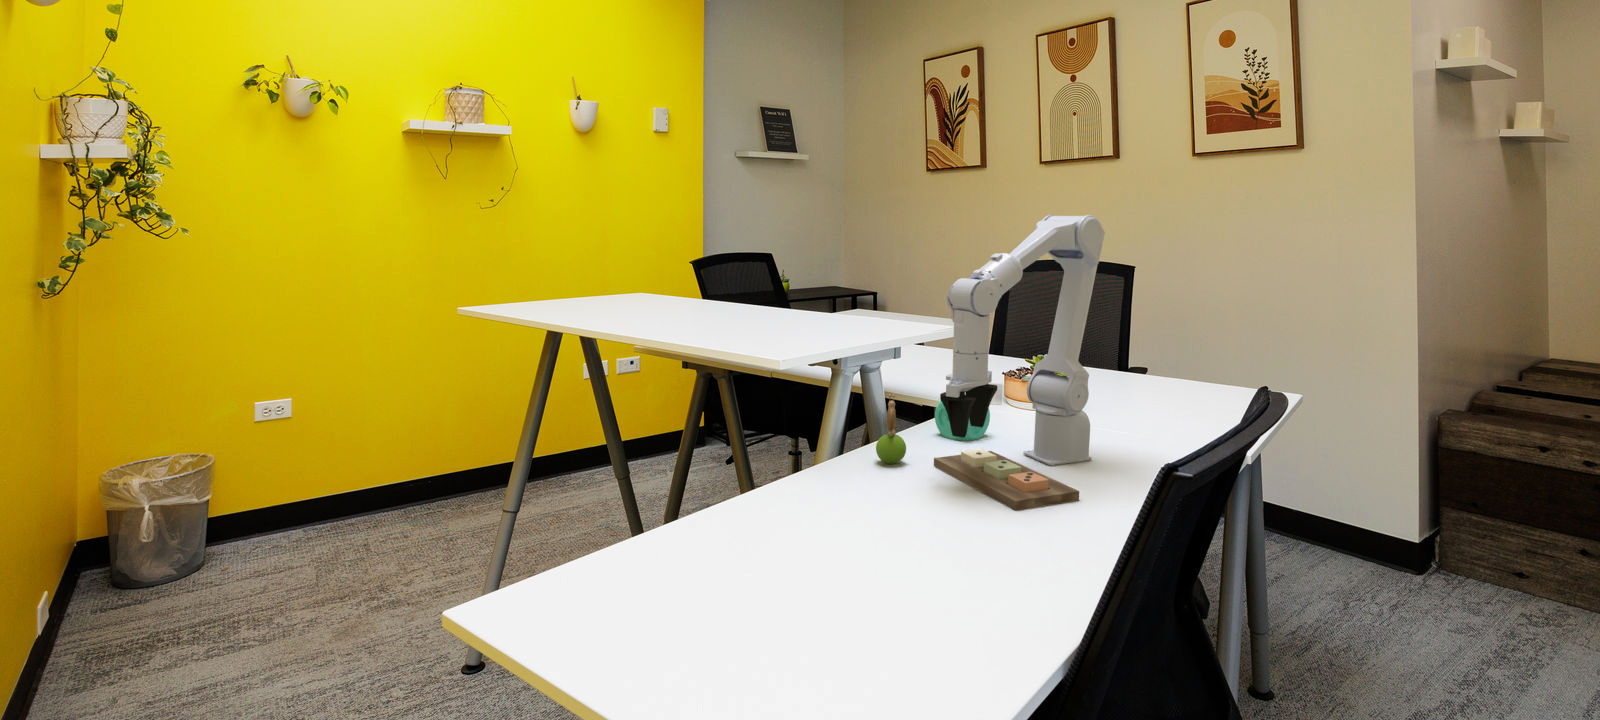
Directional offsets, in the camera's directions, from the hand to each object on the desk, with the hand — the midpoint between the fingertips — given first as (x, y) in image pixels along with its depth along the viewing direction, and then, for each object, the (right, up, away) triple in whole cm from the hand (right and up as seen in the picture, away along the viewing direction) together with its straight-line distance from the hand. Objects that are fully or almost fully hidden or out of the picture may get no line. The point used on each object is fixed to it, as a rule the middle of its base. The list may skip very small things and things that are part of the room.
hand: (968, 431), depth 138 cm
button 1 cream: (+3, -6, +6) cm, 9 cm away
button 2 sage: (+6, -9, 0) cm, 10 cm away
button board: (+6, -9, 0) cm, 10 cm away
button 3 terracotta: (+8, -10, -6) cm, 14 cm away
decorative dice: (+5, -4, +29) cm, 30 cm away
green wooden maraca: (-12, -7, +11) cm, 18 cm away
